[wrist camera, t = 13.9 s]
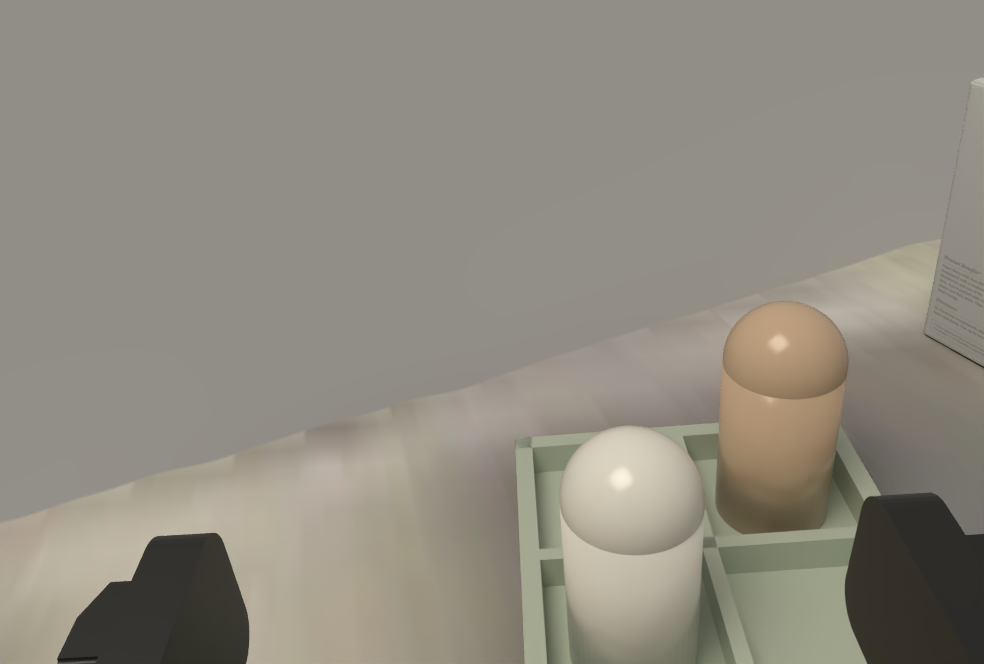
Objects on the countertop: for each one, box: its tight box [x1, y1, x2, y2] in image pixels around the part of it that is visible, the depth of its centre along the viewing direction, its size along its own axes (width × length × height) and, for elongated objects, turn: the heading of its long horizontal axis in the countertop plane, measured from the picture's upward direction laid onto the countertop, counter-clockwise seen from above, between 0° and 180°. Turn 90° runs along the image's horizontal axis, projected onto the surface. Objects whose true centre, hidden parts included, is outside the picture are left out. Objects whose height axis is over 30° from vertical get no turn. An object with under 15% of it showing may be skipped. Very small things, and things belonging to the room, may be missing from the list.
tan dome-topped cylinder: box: [715, 301, 849, 535], centre depth 36 cm, size 5×5×10 cm
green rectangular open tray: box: [515, 423, 881, 664], centre depth 35 cm, size 15×15×2 cm
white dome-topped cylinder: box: [559, 426, 705, 664], centre depth 30 cm, size 5×5×10 cm
